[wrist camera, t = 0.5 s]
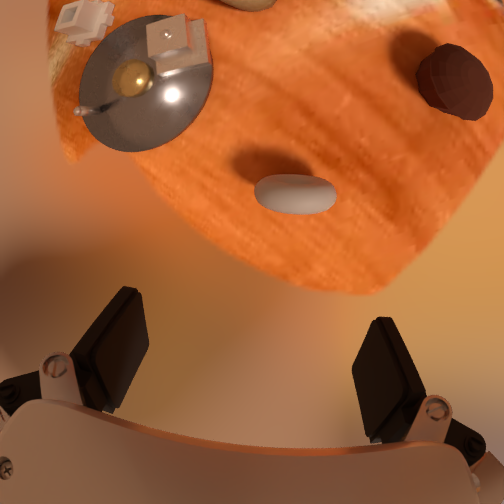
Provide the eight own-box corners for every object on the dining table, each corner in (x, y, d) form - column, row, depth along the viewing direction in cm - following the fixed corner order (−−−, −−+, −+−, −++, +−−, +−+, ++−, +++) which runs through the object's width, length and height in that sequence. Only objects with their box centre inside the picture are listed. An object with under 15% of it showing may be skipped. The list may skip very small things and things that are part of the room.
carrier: (101, 22, 27) (70, 9, 19) (230, 20, 28) (218, -7, 19) (75, 144, 36) (39, 152, 28) (194, 161, 37) (173, 171, 29)
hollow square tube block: (82, 8, 25) (59, -2, 18) (121, 0, 25) (99, -14, 19) (68, 49, 29) (42, 44, 22) (105, 44, 29) (80, 35, 22)
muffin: (414, 117, 31) (452, 117, 22) (400, 48, 27) (433, 31, 18) (470, 121, 29) (509, 125, 20) (458, 58, 25) (495, 49, 16)
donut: (256, 195, 38) (251, 216, 29) (256, 171, 37) (251, 184, 28) (327, 198, 38) (343, 220, 29) (328, 174, 36) (347, 189, 27)
